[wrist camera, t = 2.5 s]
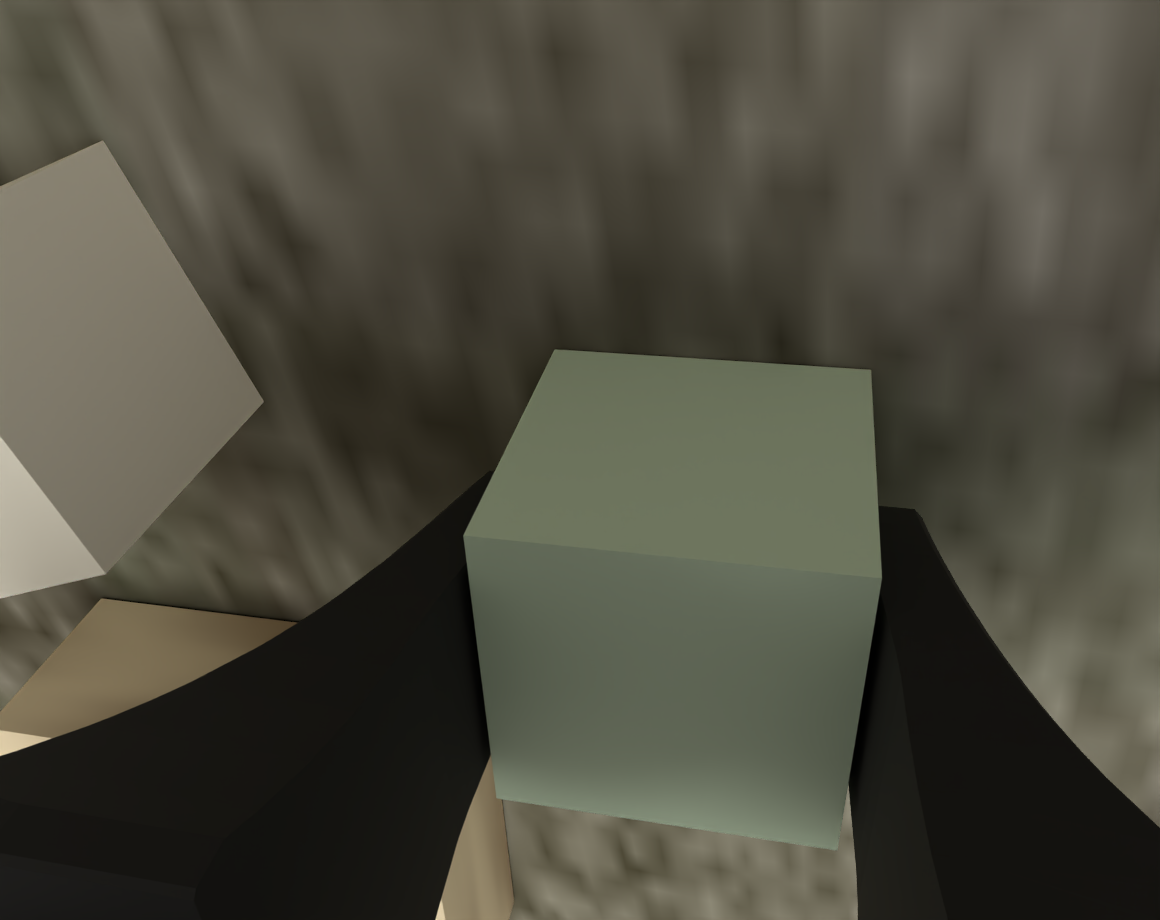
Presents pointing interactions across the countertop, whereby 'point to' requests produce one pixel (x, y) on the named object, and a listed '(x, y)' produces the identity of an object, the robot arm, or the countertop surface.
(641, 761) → the sage block
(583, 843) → the countertop surface
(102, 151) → the ivory block
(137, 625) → the maple block
